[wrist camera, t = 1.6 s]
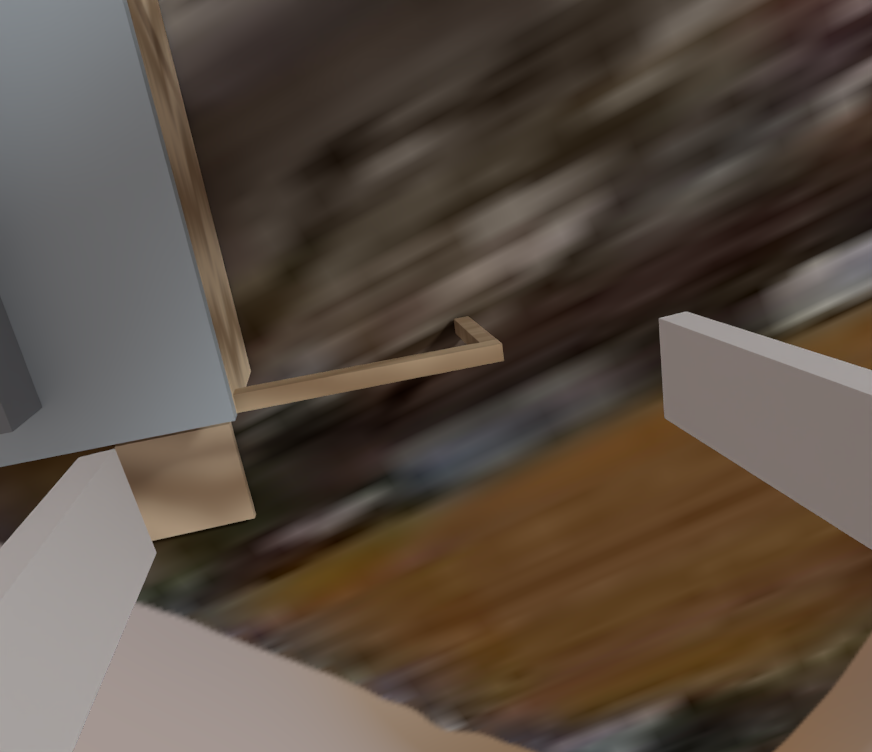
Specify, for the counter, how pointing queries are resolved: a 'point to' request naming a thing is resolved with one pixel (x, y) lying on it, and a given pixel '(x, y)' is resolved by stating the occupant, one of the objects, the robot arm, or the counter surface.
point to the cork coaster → (187, 480)
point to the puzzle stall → (213, 272)
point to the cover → (93, 245)
